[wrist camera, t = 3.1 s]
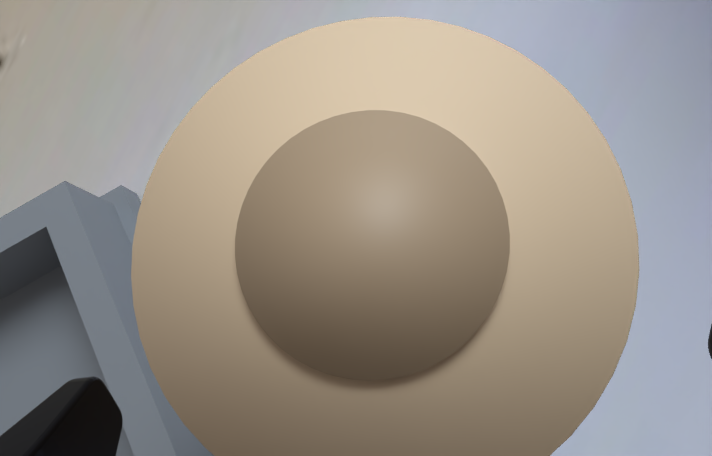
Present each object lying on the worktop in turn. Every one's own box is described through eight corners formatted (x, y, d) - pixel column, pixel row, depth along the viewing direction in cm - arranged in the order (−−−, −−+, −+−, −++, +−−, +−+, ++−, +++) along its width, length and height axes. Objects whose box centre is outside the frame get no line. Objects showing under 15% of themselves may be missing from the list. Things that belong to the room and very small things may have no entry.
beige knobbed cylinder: (390, 456, 16) (309, 654, 5) (279, 296, 18) (43, 201, 7) (547, 332, 16) (773, 283, 6) (423, 186, 18) (411, -73, 7)
